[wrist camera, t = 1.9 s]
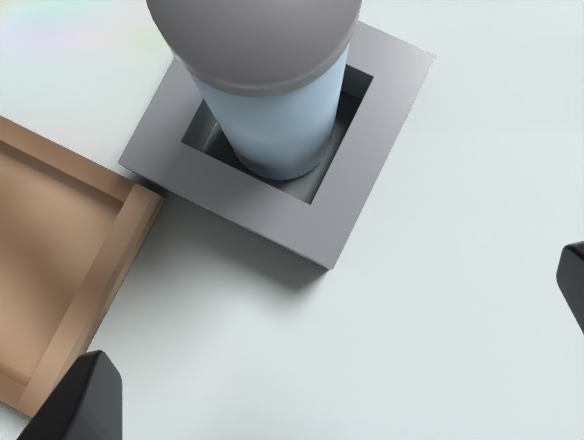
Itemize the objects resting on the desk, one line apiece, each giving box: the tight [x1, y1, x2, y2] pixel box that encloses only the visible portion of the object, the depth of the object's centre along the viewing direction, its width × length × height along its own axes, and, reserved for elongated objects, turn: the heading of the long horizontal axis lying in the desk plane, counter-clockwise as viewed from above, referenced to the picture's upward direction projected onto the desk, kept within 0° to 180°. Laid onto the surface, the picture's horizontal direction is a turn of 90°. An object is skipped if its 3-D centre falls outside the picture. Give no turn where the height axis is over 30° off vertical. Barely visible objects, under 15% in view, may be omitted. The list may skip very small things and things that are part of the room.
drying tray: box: [0, 116, 166, 418], centre depth 22 cm, size 11×11×2 cm
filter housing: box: [118, 21, 436, 270], centre depth 22 cm, size 10×10×3 cm
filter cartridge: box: [146, 0, 362, 180], centre depth 17 cm, size 5×5×12 cm
